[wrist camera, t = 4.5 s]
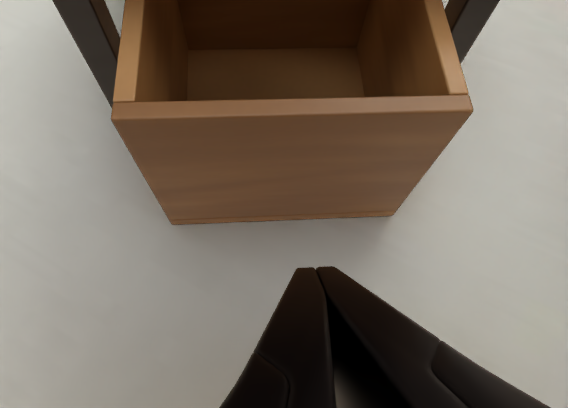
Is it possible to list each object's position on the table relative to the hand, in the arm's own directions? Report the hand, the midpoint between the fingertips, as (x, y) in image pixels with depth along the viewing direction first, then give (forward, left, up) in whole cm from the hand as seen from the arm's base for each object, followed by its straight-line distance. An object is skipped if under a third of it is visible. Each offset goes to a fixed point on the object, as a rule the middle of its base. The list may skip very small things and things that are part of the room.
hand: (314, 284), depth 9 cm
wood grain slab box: (+6, +7, -8) cm, 13 cm away
